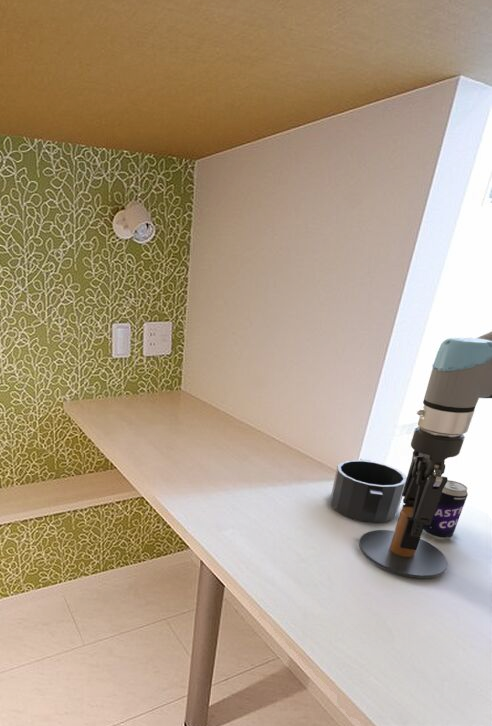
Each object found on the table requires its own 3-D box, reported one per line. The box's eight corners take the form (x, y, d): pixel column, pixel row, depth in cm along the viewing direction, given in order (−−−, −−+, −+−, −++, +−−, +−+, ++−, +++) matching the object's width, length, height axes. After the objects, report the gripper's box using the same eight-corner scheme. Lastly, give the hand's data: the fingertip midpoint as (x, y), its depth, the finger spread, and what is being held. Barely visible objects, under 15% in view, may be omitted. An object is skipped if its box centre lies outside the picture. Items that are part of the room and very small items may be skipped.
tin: (388, 494, 112) (397, 460, 108) (404, 534, 95) (416, 496, 91) (328, 485, 116) (334, 453, 112) (332, 523, 99) (341, 486, 95)
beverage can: (423, 537, 94) (440, 488, 89) (419, 524, 99) (434, 477, 94) (454, 543, 92) (473, 493, 87) (448, 530, 97) (465, 481, 92)
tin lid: (434, 542, 93) (448, 500, 88) (456, 588, 79) (475, 541, 75) (354, 529, 97) (364, 488, 93) (363, 570, 84) (375, 525, 79)
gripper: (406, 413, 85) (377, 516, 95) (428, 444, 70) (392, 562, 80) (450, 417, 83) (416, 522, 93) (482, 450, 68) (438, 570, 78)
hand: (405, 540), depth 86 cm, fingers closed on tin lid, 4 cm apart
